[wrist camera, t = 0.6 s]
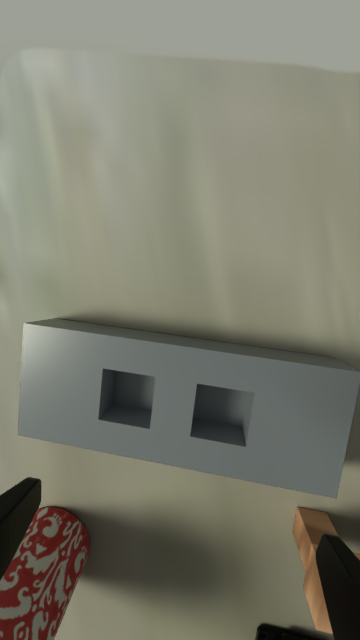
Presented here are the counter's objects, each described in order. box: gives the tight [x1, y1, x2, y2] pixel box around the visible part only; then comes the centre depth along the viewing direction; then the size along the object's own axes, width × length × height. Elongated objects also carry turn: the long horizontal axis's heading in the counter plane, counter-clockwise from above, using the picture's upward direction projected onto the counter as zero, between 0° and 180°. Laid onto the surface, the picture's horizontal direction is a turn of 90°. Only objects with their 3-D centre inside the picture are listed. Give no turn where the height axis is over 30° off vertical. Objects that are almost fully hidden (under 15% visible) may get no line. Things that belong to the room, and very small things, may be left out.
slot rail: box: [18, 318, 360, 498], centre depth 21 cm, size 9×24×4 cm, turn 83°
